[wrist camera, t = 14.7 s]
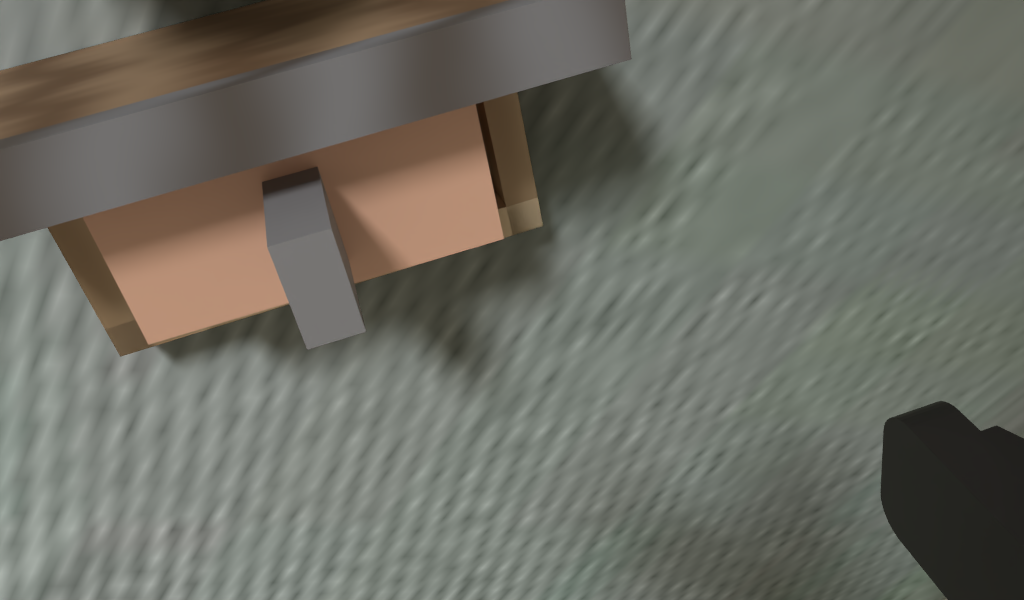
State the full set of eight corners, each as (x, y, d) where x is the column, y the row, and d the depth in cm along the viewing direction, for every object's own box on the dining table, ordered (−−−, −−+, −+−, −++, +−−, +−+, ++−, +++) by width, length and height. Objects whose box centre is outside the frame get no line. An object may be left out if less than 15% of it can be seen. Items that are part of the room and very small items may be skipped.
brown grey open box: (523, -76, 36) (622, -22, 27) (567, 186, 43) (658, 298, 34) (-72, 80, 33) (-184, 200, 24) (77, 335, 40) (34, 501, 31)
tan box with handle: (431, 37, 38) (511, 145, 27) (459, 162, 41) (541, 303, 30) (103, 123, 36) (50, 276, 25) (161, 247, 39) (137, 428, 29)
